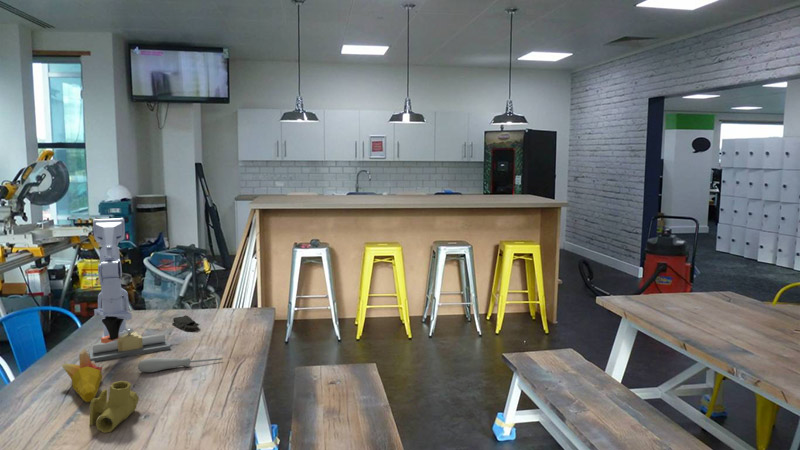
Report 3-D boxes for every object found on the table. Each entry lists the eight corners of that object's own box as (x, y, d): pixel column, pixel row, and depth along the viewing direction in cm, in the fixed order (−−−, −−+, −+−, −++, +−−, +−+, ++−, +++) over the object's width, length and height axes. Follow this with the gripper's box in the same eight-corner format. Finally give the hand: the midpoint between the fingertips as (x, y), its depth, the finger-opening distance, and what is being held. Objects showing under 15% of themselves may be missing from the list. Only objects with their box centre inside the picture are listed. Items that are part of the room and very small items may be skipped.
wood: (166, 321, 222) (166, 313, 222) (185, 317, 227) (185, 310, 226) (182, 335, 204) (181, 327, 204) (202, 331, 209) (202, 323, 208)
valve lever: (128, 331, 187) (128, 327, 187) (135, 332, 186) (134, 327, 186) (100, 342, 175) (100, 338, 175) (107, 343, 175) (106, 338, 175)
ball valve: (140, 412, 144) (102, 407, 143) (143, 375, 142) (104, 370, 141) (116, 439, 131) (74, 433, 131) (119, 400, 129) (76, 394, 129)
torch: (86, 421, 144) (76, 378, 164) (115, 402, 147) (102, 362, 167) (67, 400, 140) (59, 359, 160) (98, 381, 143) (86, 342, 163)
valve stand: (88, 352, 184) (87, 334, 183) (165, 340, 197) (164, 323, 196) (90, 362, 176) (89, 343, 175) (170, 349, 188) (169, 331, 188)
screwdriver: (223, 368, 176) (224, 356, 175) (137, 376, 166) (137, 364, 164) (221, 360, 180) (222, 349, 179) (137, 368, 170) (137, 356, 168)
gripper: (84, 298, 175) (87, 339, 176) (117, 303, 169) (119, 345, 171) (104, 293, 181) (106, 333, 183) (136, 298, 176) (138, 339, 177)
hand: (114, 339), depth 177 cm, fingers closed, pressing on valve lever
